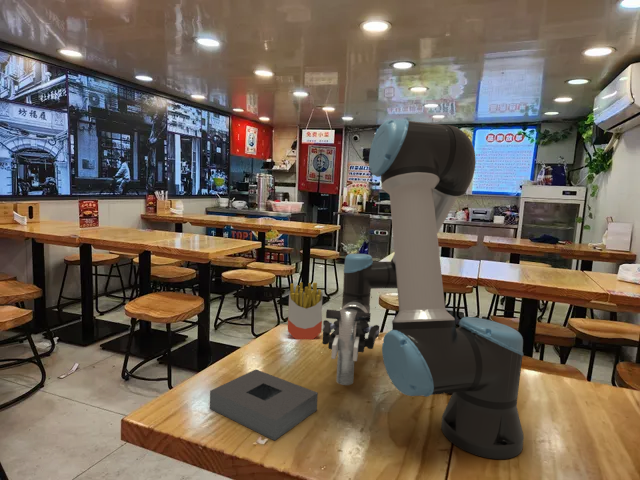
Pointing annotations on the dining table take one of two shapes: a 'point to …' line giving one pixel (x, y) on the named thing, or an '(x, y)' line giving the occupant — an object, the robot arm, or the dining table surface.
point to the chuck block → (264, 403)
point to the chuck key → (346, 341)
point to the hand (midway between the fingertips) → (344, 353)
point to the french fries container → (305, 312)
